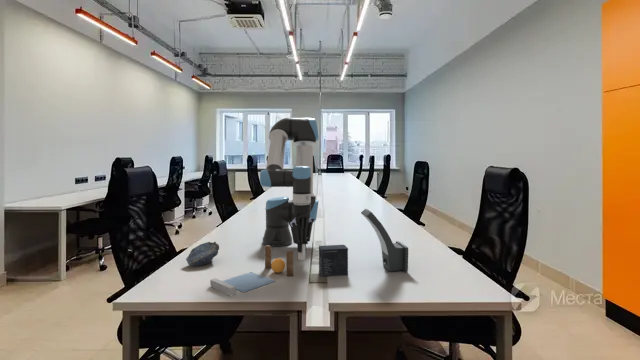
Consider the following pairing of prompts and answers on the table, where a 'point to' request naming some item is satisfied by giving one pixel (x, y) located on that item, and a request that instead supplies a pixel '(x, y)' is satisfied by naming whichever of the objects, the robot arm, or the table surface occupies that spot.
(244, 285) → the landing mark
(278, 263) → the ball
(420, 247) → the table surface
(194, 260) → the rock
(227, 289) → the wall
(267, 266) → the post
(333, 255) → the box
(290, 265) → the post
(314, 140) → the robot arm
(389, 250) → the grey curved piece
